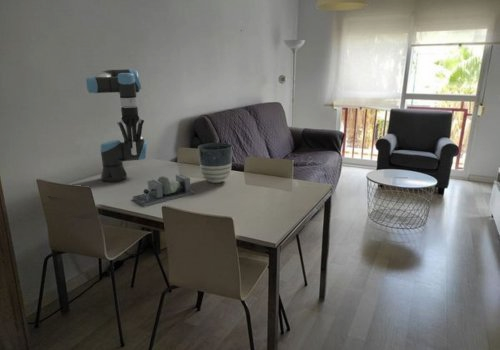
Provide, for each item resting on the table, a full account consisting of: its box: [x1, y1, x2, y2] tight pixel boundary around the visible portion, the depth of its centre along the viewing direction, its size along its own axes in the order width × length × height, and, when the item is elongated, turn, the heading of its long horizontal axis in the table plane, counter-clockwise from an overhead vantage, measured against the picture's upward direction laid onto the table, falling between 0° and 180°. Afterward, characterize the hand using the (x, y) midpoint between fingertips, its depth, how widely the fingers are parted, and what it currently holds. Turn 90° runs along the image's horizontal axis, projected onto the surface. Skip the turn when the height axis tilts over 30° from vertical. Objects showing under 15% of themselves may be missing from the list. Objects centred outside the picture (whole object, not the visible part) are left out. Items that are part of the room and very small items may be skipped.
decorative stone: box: [157, 175, 181, 195], centre depth 197 cm, size 13×11×10 cm
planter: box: [197, 142, 233, 184], centre depth 217 cm, size 20×20×21 cm
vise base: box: [132, 173, 195, 207], centre depth 194 cm, size 14×28×9 cm, turn 130°
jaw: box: [143, 178, 163, 199], centre depth 190 cm, size 10×8×8 cm
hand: (134, 154), depth 184 cm, fingers closed
